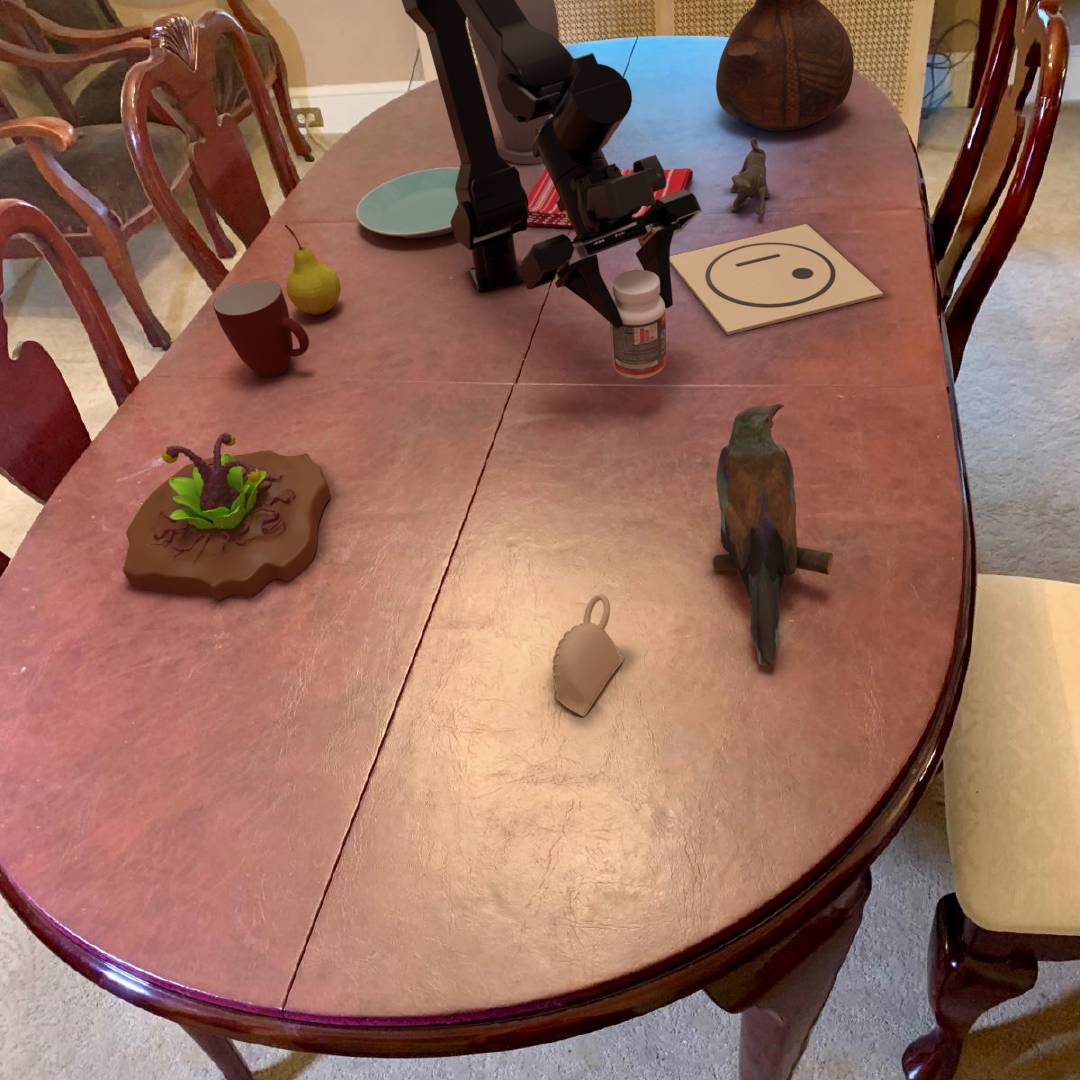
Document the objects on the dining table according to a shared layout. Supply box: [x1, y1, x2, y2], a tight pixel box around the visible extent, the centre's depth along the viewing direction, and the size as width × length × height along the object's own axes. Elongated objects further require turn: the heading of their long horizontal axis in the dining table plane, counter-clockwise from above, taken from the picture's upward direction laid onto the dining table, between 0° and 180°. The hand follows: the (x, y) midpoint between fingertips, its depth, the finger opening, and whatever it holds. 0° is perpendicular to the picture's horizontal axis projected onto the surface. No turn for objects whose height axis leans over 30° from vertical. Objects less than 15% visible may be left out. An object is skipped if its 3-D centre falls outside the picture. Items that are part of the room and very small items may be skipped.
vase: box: [466, 0, 560, 165], centre depth 143 cm, size 13×13×35 cm
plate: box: [355, 166, 460, 239], centre depth 142 cm, size 22×22×3 cm
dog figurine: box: [730, 136, 771, 216], centre depth 131 cm, size 12×6×7 cm, turn 165°
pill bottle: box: [609, 269, 667, 379], centre depth 97 cm, size 6×6×10 cm
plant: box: [122, 432, 332, 601], centre depth 92 cm, size 20×20×11 cm
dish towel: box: [527, 167, 694, 229], centre depth 138 cm, size 17×24×3 cm
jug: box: [715, 0, 855, 132], centre depth 144 cm, size 22×22×30 cm
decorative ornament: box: [552, 593, 625, 718], centre depth 76 cm, size 4×8×5 cm, turn 146°
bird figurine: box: [712, 403, 834, 666], centre depth 79 cm, size 13×10×20 cm
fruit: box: [284, 223, 341, 316], centre depth 121 cm, size 7×7×12 cm
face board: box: [670, 223, 884, 336], centre depth 119 cm, size 20×20×1 cm
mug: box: [212, 279, 310, 378], centre depth 113 cm, size 10×8×10 cm
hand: (644, 316), depth 95 cm, fingers closed on pill bottle, 6 cm apart
